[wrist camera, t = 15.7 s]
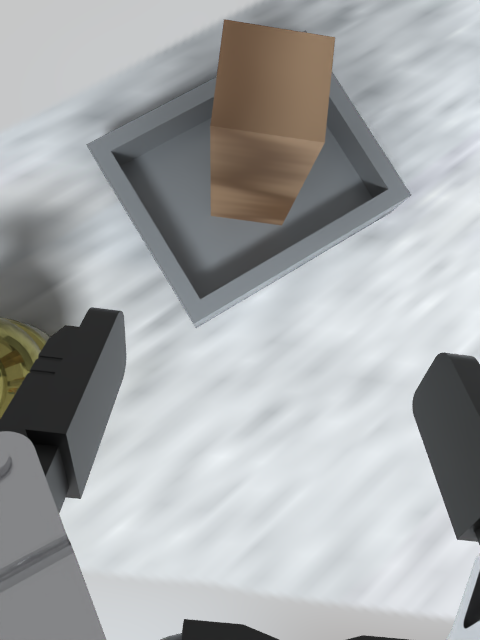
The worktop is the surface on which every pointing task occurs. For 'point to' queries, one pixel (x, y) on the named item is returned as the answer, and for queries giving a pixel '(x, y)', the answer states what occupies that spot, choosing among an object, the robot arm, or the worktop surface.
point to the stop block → (266, 119)
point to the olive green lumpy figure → (17, 356)
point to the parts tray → (232, 234)
